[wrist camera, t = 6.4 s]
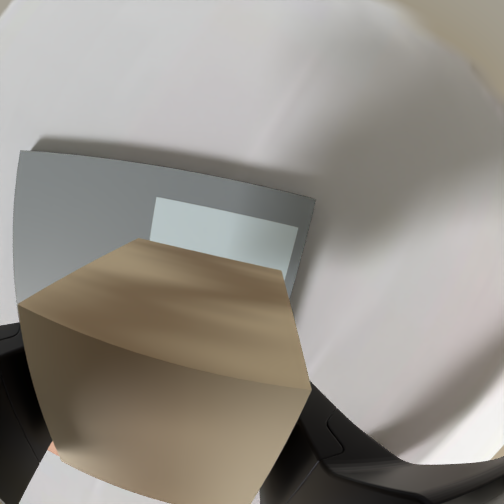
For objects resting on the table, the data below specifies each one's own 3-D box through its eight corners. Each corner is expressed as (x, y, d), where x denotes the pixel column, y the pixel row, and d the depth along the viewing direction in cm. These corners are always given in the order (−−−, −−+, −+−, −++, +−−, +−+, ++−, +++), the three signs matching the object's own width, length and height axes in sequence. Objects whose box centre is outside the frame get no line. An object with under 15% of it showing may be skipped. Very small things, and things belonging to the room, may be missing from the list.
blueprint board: (312, 198, 14) (316, 199, 13) (239, 441, 18) (239, 451, 17) (29, 150, 14) (20, 150, 13) (37, 373, 18) (31, 379, 17)
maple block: (281, 270, 10) (311, 389, 4) (248, 385, 11) (242, 515, 5) (138, 237, 9) (17, 304, 4) (130, 355, 11) (61, 461, 5)
